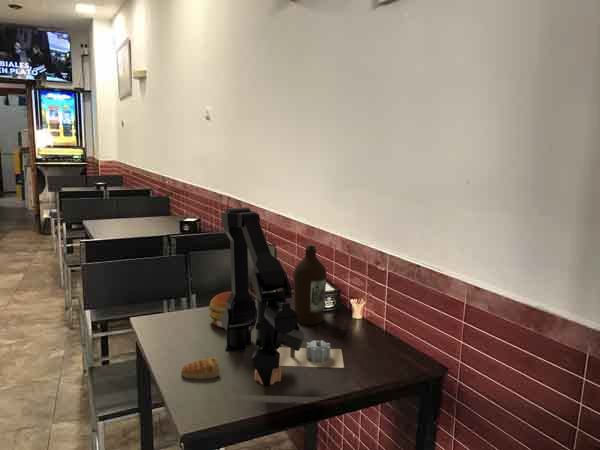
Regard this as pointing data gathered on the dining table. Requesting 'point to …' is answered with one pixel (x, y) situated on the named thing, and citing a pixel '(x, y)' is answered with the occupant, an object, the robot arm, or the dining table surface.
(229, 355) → the dining table surface
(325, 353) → the gear
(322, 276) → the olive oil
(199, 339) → the dining table surface
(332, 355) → the gear board
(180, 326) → the dining table surface
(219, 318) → the burger
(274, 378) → the gear
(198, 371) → the pastry
